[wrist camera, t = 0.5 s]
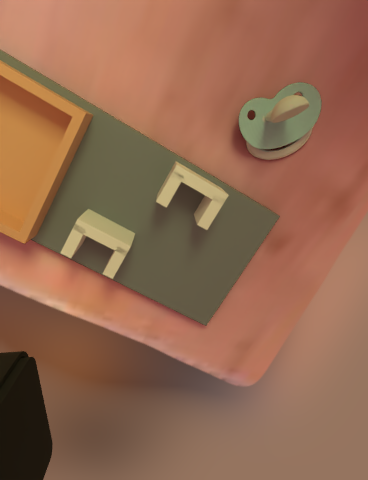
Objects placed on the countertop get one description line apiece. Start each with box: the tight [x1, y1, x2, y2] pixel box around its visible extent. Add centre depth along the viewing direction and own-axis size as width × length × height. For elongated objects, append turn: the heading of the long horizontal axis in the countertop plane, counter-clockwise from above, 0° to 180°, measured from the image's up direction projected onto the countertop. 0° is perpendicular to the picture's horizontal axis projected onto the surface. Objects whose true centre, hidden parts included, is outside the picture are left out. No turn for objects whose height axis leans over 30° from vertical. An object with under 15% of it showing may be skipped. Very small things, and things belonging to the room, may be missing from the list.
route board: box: [0, 50, 280, 326], centre depth 30 cm, size 14×33×5 cm, turn 60°
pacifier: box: [239, 82, 321, 160], centre depth 29 cm, size 7×6×6 cm
